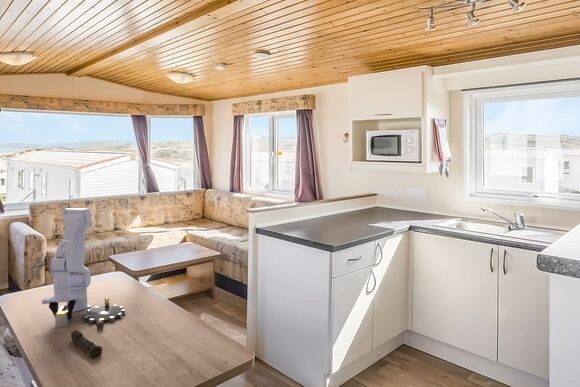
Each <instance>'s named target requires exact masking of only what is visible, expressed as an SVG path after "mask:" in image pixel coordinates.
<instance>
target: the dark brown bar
mask: <svg viewBox="0 0 580 387" xmlns="http://www.w3.org/2000/svg"><path fill="white" fill-rule="evenodd" d="M70 337H71V343H73V345H74V346H75V347H78V348H80V350H82V351H84V353H86V354H88V355H89V356H90V359H91V360H94V359H97V358H99V357H101V356H102V354H103V347H102V346H99V345H97V344H95V342H94V341H91V340H89V339H88V338H85V337H84V336H83V333H81V331H79V330H76V329H75V330H73V331H71V333H70Z"/></svg>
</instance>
